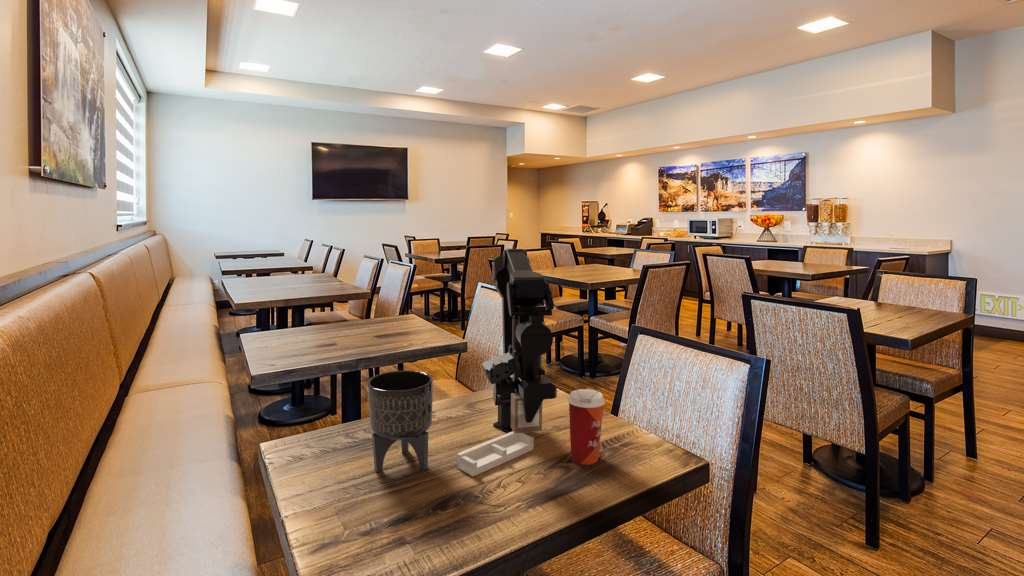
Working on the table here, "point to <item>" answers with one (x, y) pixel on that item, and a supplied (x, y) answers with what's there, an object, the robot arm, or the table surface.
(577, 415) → the paper cup
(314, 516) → the table surface
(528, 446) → the white tray base
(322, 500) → the table surface
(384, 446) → the planter
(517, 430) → the tall taupe pillar block
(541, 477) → the table surface
